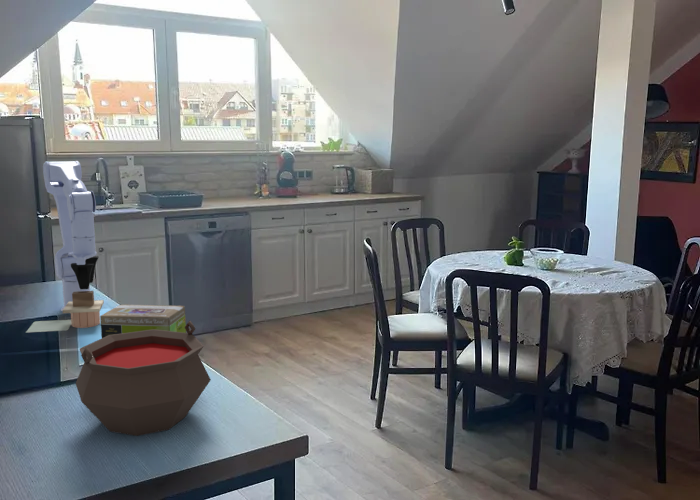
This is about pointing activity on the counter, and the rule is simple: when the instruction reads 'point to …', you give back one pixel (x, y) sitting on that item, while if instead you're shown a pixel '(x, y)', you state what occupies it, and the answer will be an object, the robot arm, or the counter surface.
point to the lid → (83, 303)
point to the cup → (85, 319)
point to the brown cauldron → (142, 379)
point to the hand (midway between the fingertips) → (86, 285)
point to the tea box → (143, 319)
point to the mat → (49, 326)
